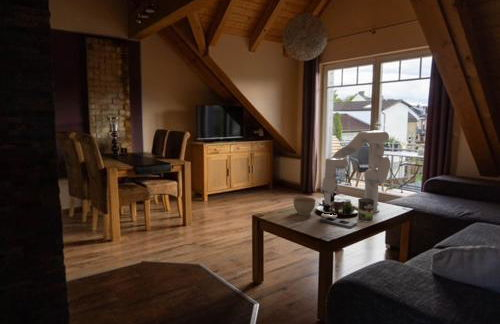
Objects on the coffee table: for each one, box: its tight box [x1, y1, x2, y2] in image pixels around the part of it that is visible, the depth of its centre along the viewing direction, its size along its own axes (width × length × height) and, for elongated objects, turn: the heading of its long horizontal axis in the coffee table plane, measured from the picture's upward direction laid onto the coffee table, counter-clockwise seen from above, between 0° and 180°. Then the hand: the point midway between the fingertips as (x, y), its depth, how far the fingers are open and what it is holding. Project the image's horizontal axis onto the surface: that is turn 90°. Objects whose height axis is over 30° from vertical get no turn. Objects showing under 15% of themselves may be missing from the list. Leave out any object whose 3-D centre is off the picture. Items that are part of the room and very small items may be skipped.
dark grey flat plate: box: [320, 216, 358, 229], centre depth 244 cm, size 9×22×2 cm, turn 47°
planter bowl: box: [292, 196, 316, 217], centre depth 264 cm, size 16×16×11 cm
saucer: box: [320, 212, 338, 218], centre depth 260 cm, size 11×11×1 cm
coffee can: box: [357, 198, 374, 223], centre depth 250 cm, size 10×10×14 cm
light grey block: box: [324, 192, 335, 206], centre depth 258 cm, size 4×4×8 cm
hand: (329, 200), depth 258 cm, fingers closed on light grey block, 4 cm apart
